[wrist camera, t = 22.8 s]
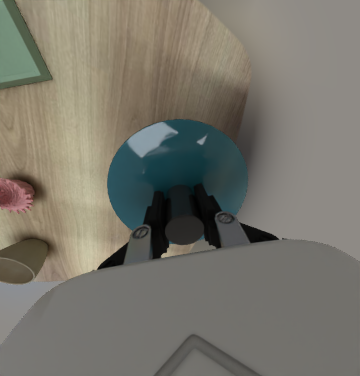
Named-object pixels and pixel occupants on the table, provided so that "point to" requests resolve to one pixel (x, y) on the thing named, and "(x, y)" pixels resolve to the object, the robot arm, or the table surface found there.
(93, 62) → the table surface
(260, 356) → the robot arm
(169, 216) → the pot lid
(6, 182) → the flower
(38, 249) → the bowl
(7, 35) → the tray
